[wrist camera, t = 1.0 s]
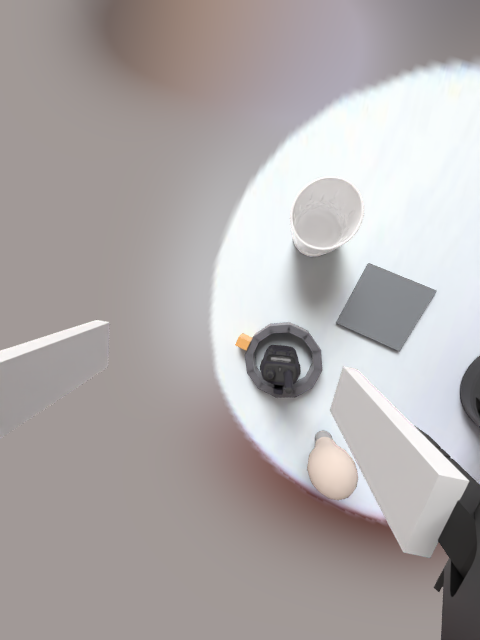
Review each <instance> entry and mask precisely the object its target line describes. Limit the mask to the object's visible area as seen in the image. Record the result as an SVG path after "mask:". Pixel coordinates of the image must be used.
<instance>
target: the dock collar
mask: <svg viewBox="0 0 480 640" xmlns="http://www.w3.org/2000/svg"><path fill="white" fill-rule="evenodd" d="M285 332H289V333H291V334H293V335H295V336H297V337H299V338H302V339H303V340H304V341H305V342H306V344H307V345H308V347H309V348H310V349H311V353H312V365H311V367H310V369H309V371H308V372H307V374H306V376H305V377H304V378H302V379H300V380H298V381H297V382H296V383H295V384H293V390H292V393H291V394H287V393H286V392H285V386H284V387H283V394H282V395H278V394H274V392H273V389H274V385H273V384H271V383H269V382H267V381H265V380H264V379H263V377H262V374H261V372H260V371H259V369H258V368H257V366H256V361H255V350H256V347H257V345H258V343H259V342H260V341H261V340H263V339H264V338H266V337H267V336H269V335H270V334H272V333H285ZM236 346H238V347H240V348H242V349H244V350H247V351H246V353H245V358H246V367H247V373H248V375H249V376H250V378H251V379H252V380H253V382H254V383H255V385H256V386H257V388H258V389H260V390H262V391H264V392H266V393H268V394H270V395H272V396H274V397H297V396H299V395H301V394H302V393H304V392H306V391H308V390H309V389H311V388H313V386H314V384H315V383H316V381H317V379H318V377H319V375H320V374H321V372H322V359H321V350H320V348H319V346H318V345H317V343H316V342H315V341H314V339H313V338H312V336H311V335H310V334H309V332H308V331H307V330H305V329H303V328H301V327H299V326H296V325H294V324H292V323H290V322H287V323H274V324H269V325H268V326H266V327H265V328H263V329H262V330H260V331H259V332H257V333H256V334H255V335H254V336H253V338H252V337H250V336H248V335H245V334H243V333H242V334H241V335H240V336H239V338H238V340H237V342H236Z"/></svg>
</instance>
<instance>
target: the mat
mask: <svg viewBox="0 0 480 640" xmlns="http://www.w3.org/2000/svg"><path fill="white" fill-rule="evenodd" d="M435 293H436V290H434V289H431V288H429V287H426V286H424V285H422V284H419V283H417V282H414V281H412V280H409V279H407V278H404V277H402V276H399V275H397V274H394V273H392V272H390V271H387V270H385V269H382V268H380V267H377V266H375V265H372V264H370V263H368V264H367V266H366V268H365V270H364V272H363V273H362V275H361V277H360V279H359V281H358V283H357V285H356V286H355V288H354V290H353V292H352V294H351V296H350V298H349V300H348V301H347V303H346V305H345V307H344V309H343V311H342V313H341V314H340V316H339V318H338V320H337V322H336V323H337V324H339V325H342V326H344V327H346V328H348V329H350V330H353V331H355V332H357V333H359V334H362V335H364V336H366V337H368V338H371V339H373V340H375V341H377V342H379V343H382V344H384V345H386V346H388V347H391V348H393V349H395V350H397V351H400V350H401V348H402V346H403V345H404V343H405V341H406V340H407V338H408V337H409V335H410V333H411V332H412V330H413V329H414V327H415V325H416V324H417V322H418V320H419V319H420V317H421V316H422V314H423V312H424V311H425V309H426V308H427V306H428V304H429V303H430V301H431V299H432V298H433V296H434V295H435Z"/></svg>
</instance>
